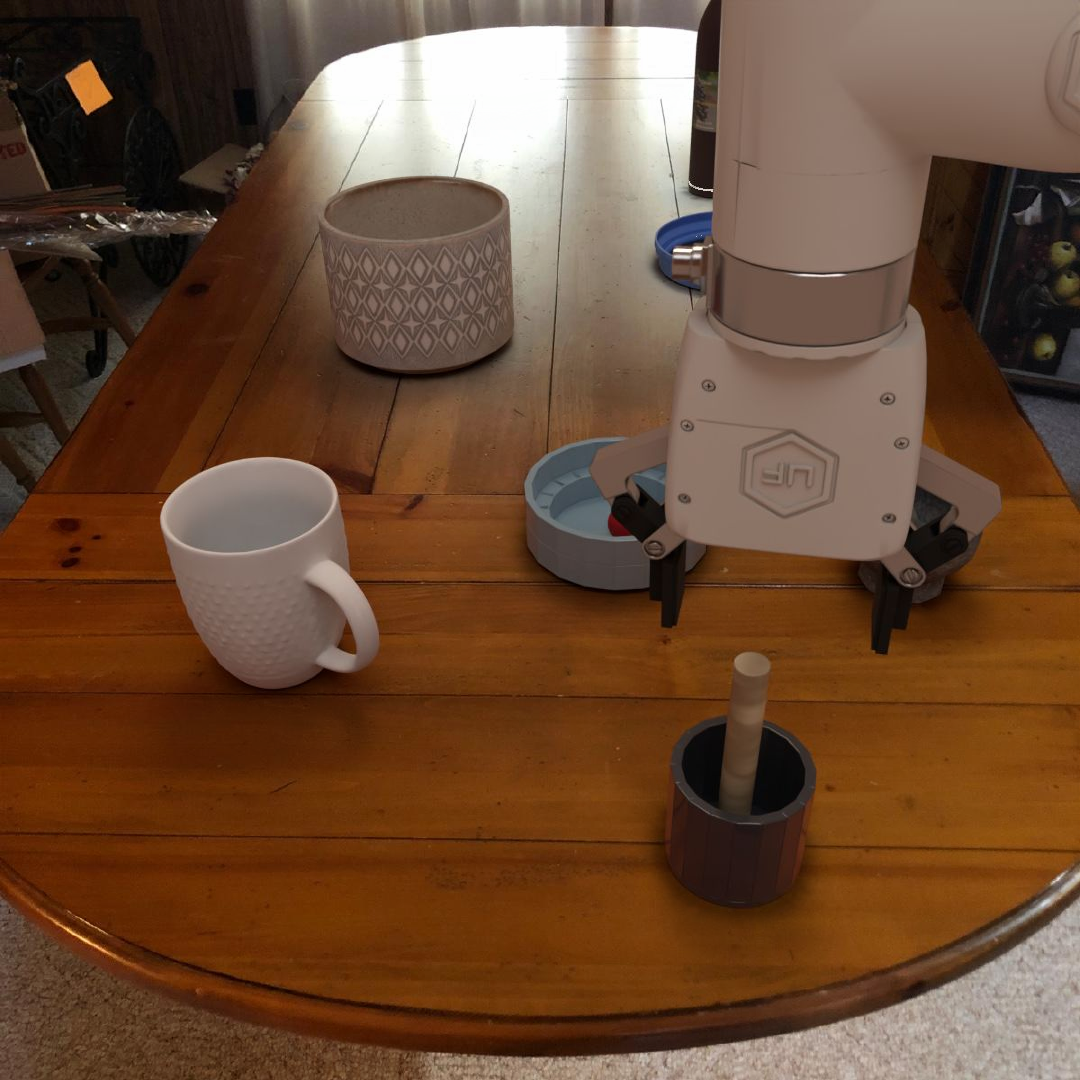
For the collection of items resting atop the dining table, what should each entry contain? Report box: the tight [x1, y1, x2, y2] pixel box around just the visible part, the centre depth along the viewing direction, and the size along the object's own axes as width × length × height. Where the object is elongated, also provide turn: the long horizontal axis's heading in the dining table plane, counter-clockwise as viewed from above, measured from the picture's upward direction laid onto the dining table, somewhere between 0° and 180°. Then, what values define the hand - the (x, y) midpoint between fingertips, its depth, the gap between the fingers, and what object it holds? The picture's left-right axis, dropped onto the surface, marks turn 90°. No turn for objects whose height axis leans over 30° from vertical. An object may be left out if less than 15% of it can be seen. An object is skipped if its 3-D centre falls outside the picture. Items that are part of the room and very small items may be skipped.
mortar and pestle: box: [857, 485, 984, 604], centre depth 79 cm, size 11×9×12 cm
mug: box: [159, 456, 380, 690], centre depth 71 cm, size 15×11×13 cm
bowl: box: [653, 210, 713, 290], centre depth 128 cm, size 18×18×4 cm
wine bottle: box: [687, 0, 722, 199], centre depth 142 cm, size 7×7×30 cm
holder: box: [664, 714, 818, 909], centre depth 60 cm, size 8×8×7 cm
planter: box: [316, 175, 515, 375], centre depth 111 cm, size 19×19×14 cm
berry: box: [608, 513, 633, 537], centre depth 85 cm, size 3×3×3 cm
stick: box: [717, 651, 772, 815], centre depth 58 cm, size 2×2×14 cm
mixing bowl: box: [523, 436, 708, 591], centre depth 85 cm, size 14×14×5 cm
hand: (773, 622), depth 52 cm, fingers open, 9 cm apart
